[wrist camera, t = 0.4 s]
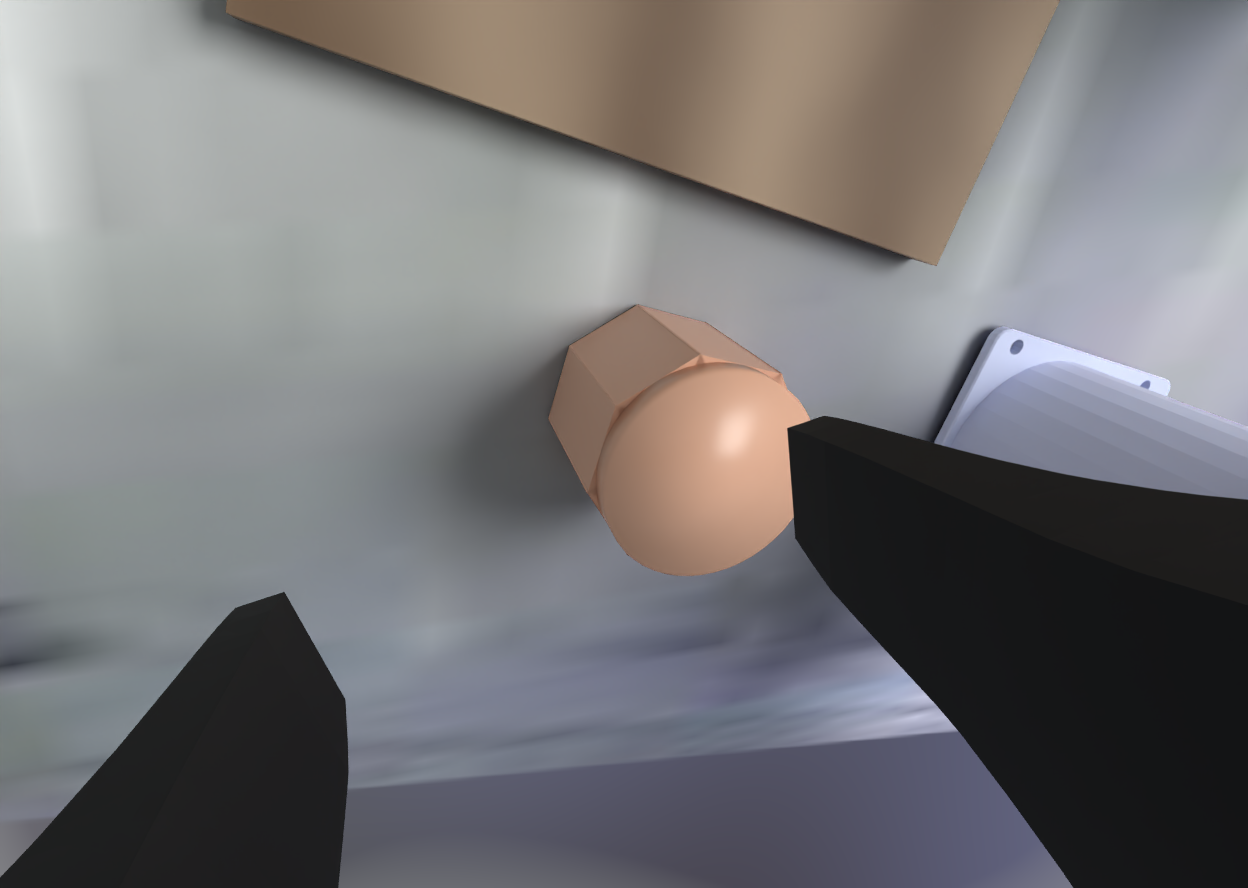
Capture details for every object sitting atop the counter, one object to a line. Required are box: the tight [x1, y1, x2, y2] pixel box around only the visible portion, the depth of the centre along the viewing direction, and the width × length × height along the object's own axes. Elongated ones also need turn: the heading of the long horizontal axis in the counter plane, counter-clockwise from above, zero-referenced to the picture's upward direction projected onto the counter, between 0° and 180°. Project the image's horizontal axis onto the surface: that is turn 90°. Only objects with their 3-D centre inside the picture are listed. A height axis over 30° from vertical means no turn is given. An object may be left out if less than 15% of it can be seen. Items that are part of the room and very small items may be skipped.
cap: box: [548, 304, 810, 576], centre depth 18 cm, size 5×5×5 cm
